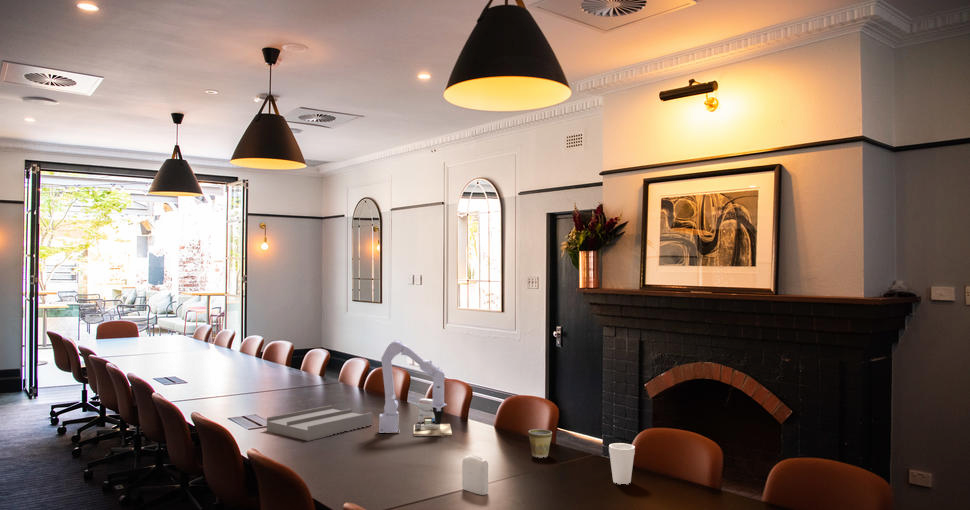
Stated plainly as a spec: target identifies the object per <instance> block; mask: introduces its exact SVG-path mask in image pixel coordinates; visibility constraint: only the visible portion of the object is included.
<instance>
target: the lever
mask: <svg viewBox="0 0 970 510" xmlns="http://www.w3.org/2000/svg"><path fill="white" fill-rule="evenodd" d="M421 424H422V423H415V430H417V431H419V430H427V429H439V428H440V424H436V421H435V423H432V424H426V425H421Z"/></svg>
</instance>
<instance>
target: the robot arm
mask: <svg viewBox="0 0 970 510" xmlns="http://www.w3.org/2000/svg"><path fill="white" fill-rule="evenodd" d="M399 354H400V355H401V356H407V357H408V358H410V359H411V360H412V361H413V362H415V363H416V364H418V365H419V369H420V370H421V371H422V372H423V373H425V374H426V376H428V377H430V378H432V382H433V385H432V399H433V403H432V406H433V407H432V409H433V413H434V415H435V421H436V424H442V420H443V419H442V418H443V414H444V413H445V409H444V407H445V406H446V407H447V405H448V404H447V403H445V378H446V377H445V376H446V375H445V372H444V371H443V370H442V369H440V367H439V366H436V365H435V364H434V363H433V361H432V360H429V359H424V358H422V357H421V356H420V355H419V354H418V353H416V352H415V351H414V350H413V349H412V348H411V347H409V346H408V345H406V344H405V343H403V342H402V341H400V340H398V339H394V340H393V341H391V343H389V344H388V345H387V346H386V349H385V350H384V353H383V354H382V356H381V365H382V366H381V367H382V378H383V385H384V388H383V389H384V402H385V404H384V406H383V413H380V414H379V416H378V417H379V418H378V419H379V421H378V434H379V433H384V432H386V433H391V432H397V431H398V429H399V427H400V426H399V420H400V419H399V418H400V415H399V413H400V412H399V411H398V408H399V401H398V399H397V398H396V397H397V396H396V392H395V381H394V374H393V373H394V372H393V363H392V361H393V359H394V358H395V357H396V356H399Z"/></svg>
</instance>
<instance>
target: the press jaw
mask: <svg viewBox="0 0 970 510" xmlns="http://www.w3.org/2000/svg"><path fill="white" fill-rule="evenodd" d="M426 424H431V419H425V425H426Z"/></svg>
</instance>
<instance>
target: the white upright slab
mask: <svg viewBox="0 0 970 510" xmlns="http://www.w3.org/2000/svg"><path fill="white" fill-rule="evenodd" d="M461 471H462V473H461V475H462V476H461V477H462V479H461V483H462V484H461V486H462V490H464V491H467V492H470V493H472V494H476V495H481V496H485V495H487V494H488V493H489V462H488V460H486V459H485V458H483V457H481V456H479V455H475V454H470V455H466V456H464V457H463V459H462V470H461Z"/></svg>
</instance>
